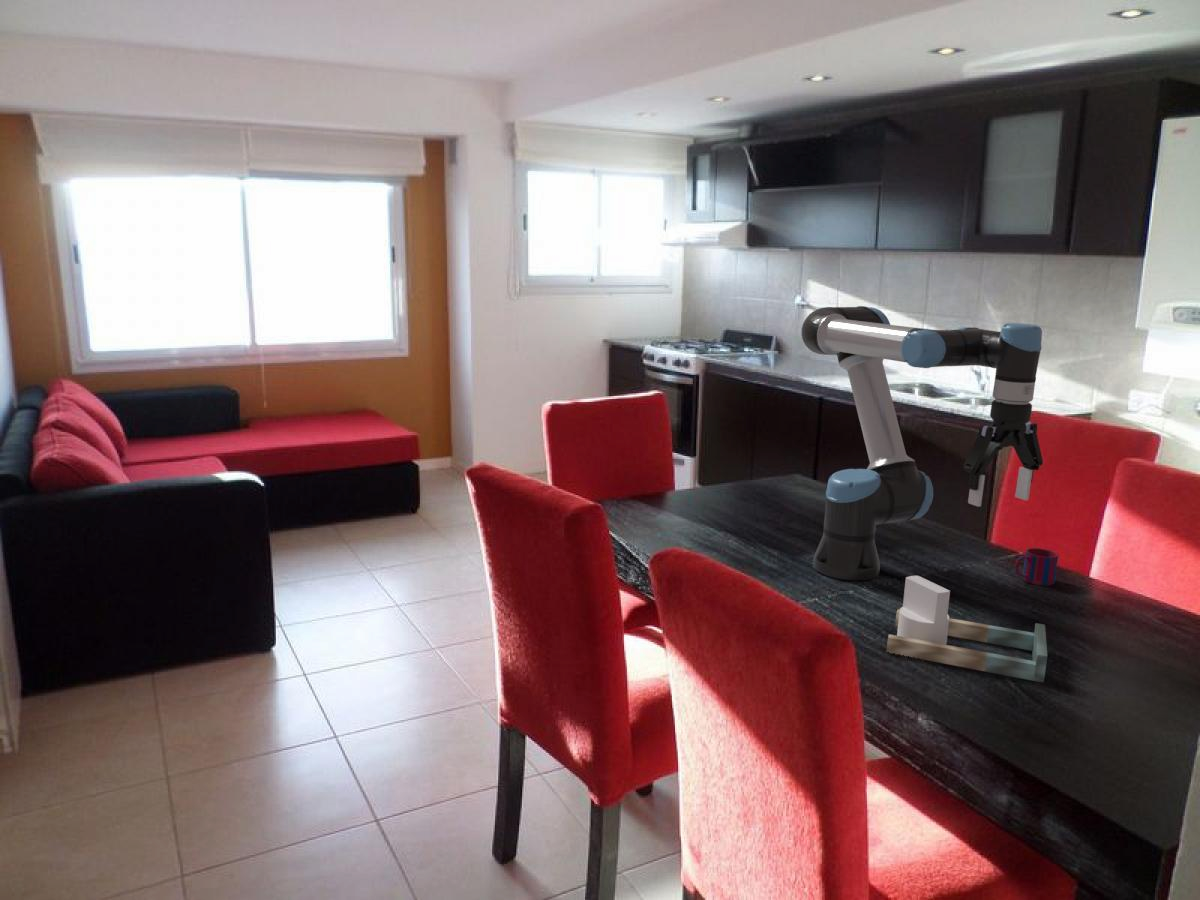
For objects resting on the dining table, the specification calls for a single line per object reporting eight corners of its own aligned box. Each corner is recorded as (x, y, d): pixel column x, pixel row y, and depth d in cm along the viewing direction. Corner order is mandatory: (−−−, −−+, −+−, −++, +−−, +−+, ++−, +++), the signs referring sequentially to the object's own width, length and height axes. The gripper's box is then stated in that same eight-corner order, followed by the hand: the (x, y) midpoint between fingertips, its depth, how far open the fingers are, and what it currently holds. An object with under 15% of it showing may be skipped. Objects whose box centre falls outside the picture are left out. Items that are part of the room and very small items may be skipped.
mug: (1060, 585, 206) (1064, 557, 204) (1020, 586, 204) (1023, 558, 203) (1042, 575, 212) (1046, 547, 210) (1003, 576, 211) (1006, 548, 209)
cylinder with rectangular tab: (886, 637, 175) (892, 578, 173) (922, 630, 179) (928, 573, 176) (919, 656, 167) (926, 595, 165) (956, 648, 171) (963, 589, 168)
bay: (886, 652, 169) (889, 627, 168) (896, 623, 182) (898, 599, 181) (1043, 682, 158) (1047, 656, 157) (1041, 649, 172) (1044, 624, 170)
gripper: (982, 407, 174) (968, 512, 179) (1071, 401, 184) (1055, 500, 189) (952, 400, 180) (939, 502, 185) (1039, 395, 191) (1025, 491, 196)
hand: (998, 501), depth 187 cm, fingers open, 13 cm apart
